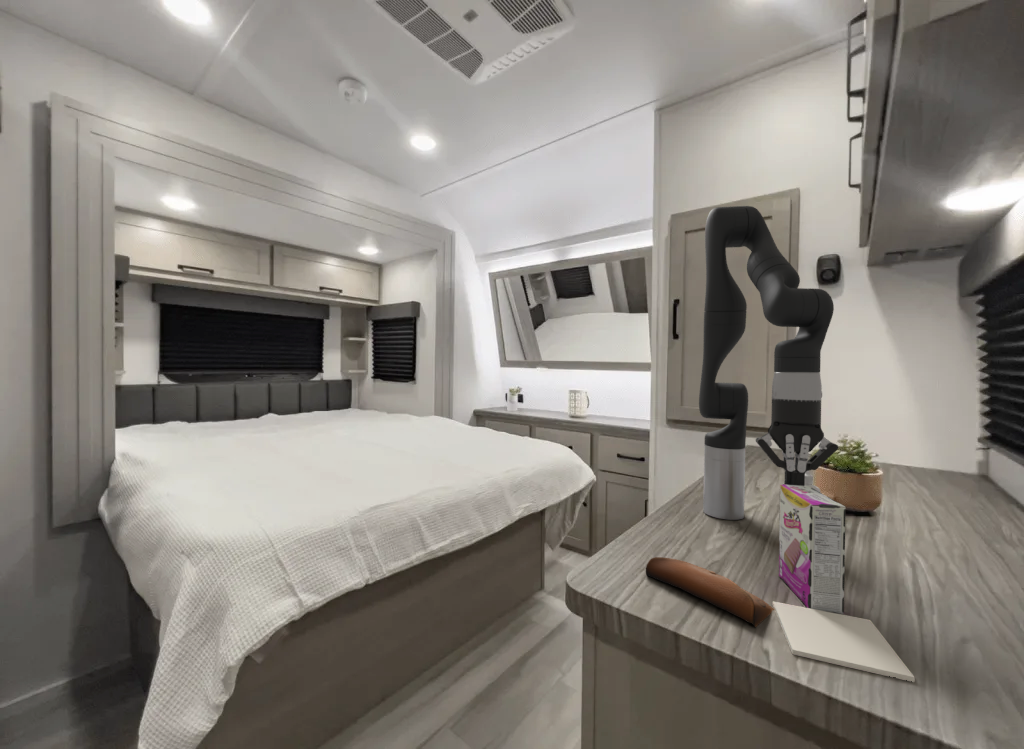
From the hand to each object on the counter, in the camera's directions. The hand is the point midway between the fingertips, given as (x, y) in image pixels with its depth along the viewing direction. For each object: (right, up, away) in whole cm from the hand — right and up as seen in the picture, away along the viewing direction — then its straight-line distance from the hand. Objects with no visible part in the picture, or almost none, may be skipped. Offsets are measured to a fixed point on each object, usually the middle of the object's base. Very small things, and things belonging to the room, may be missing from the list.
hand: (794, 491), depth 76 cm
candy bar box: (-4, -14, -9) cm, 18 cm away
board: (-9, -14, -20) cm, 26 cm away
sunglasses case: (-20, -15, -9) cm, 26 cm away
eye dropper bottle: (+21, -14, +27) cm, 37 cm away
